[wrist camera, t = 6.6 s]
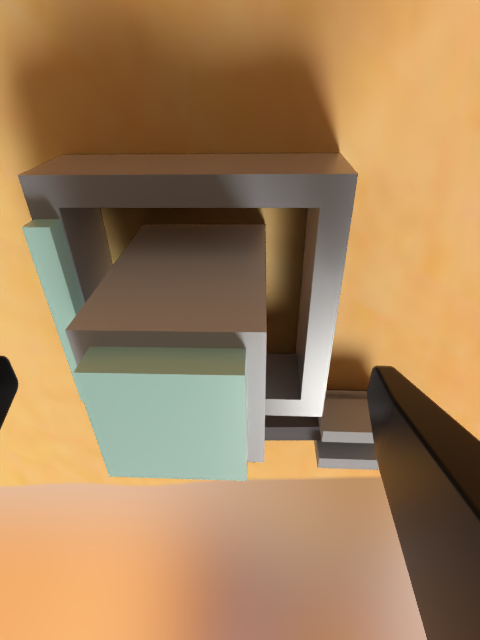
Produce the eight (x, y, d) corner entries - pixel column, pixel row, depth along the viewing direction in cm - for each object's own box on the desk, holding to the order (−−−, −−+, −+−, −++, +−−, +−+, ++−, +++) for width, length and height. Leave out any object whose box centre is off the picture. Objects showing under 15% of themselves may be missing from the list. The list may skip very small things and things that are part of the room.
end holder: (340, 152, 11) (363, 180, 9) (314, 369, 16) (324, 430, 13) (62, 154, 12) (4, 181, 9) (115, 365, 16) (87, 423, 13)
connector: (265, 224, 12) (267, 359, 7) (263, 326, 15) (263, 491, 9) (143, 224, 13) (46, 355, 7) (159, 325, 15) (96, 485, 9)
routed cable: (406, 391, 16) (424, 434, 14) (394, 432, 17) (409, 475, 16) (145, 385, 17) (130, 425, 15) (153, 425, 18) (141, 466, 16)
